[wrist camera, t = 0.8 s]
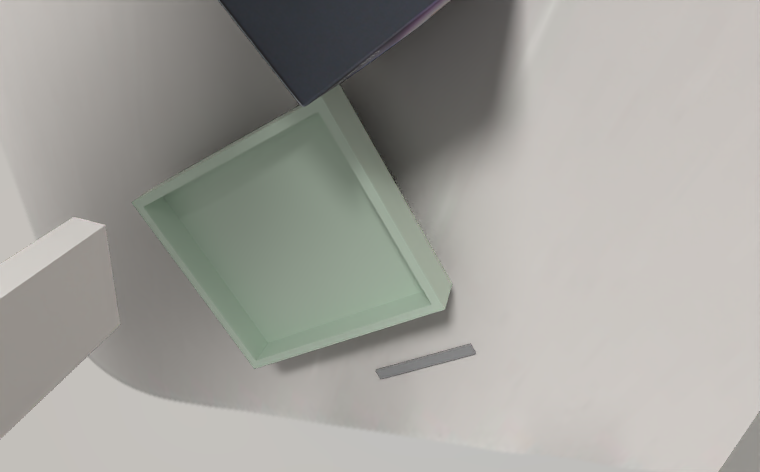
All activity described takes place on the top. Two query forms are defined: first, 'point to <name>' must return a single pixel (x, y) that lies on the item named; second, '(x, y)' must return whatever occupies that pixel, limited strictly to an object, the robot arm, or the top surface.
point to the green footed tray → (298, 235)
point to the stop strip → (426, 361)
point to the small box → (325, 36)
